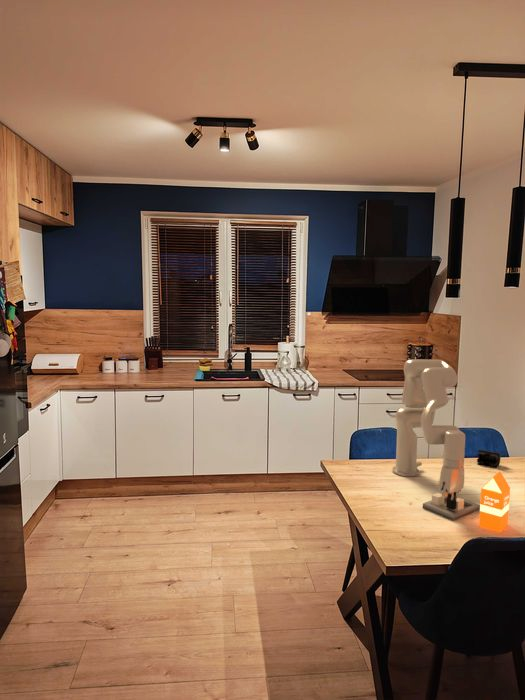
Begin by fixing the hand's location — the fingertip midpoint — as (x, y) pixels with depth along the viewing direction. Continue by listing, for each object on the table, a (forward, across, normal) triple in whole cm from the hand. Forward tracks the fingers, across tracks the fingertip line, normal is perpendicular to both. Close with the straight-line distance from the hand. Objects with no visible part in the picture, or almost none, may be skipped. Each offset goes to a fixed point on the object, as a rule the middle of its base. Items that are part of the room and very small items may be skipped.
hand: (451, 508), depth 198 cm
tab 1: (+2, -1, -7) cm, 7 cm away
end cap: (+3, -68, -26) cm, 73 cm away
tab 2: (+2, -4, 0) cm, 4 cm away
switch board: (+3, -6, -4) cm, 7 cm away
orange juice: (+3, -6, +14) cm, 16 cm away
